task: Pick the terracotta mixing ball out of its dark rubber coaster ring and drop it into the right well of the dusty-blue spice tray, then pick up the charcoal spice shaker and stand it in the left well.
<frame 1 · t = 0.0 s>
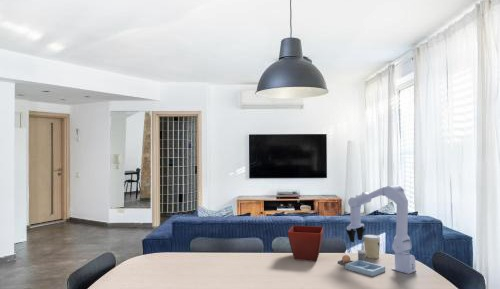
hand: (356, 240, 205), 10 cm above the table, tool pointing down, fingers open, 7 cm apart
shaker: (361, 262, 196), on the table
coffee cup: (372, 256, 207), on the table
ball: (346, 259, 195), point 2 cm above the table
plant pot: (306, 258, 206), on the table
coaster: (346, 263, 195), on the table
tray: (365, 270, 183), on the table
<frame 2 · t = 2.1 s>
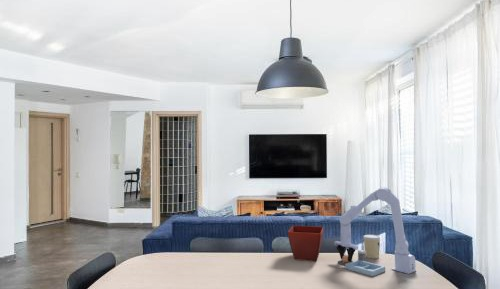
hand: (346, 260, 195), 2 cm above the table, tool pointing down, fingers closed on ball, 4 cm apart
ball: (346, 259, 195), point 2 cm above the table, touching gripper
everything else where it was.
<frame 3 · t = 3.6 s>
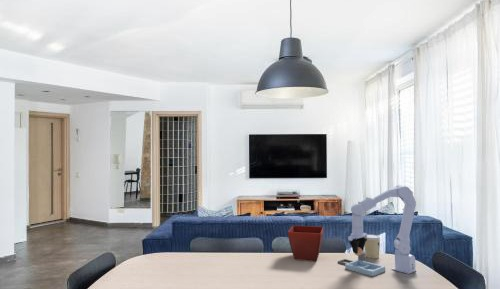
hand: (358, 252, 186), 8 cm above the table, tool pointing down, fingers closed on ball, 4 cm apart
ball: (358, 251, 186), point 9 cm above the table, touching gripper
everything else where it was.
when the fingers open (2 cm above the table, at t = 5.1 s): ball stays where it is, resting on tray.
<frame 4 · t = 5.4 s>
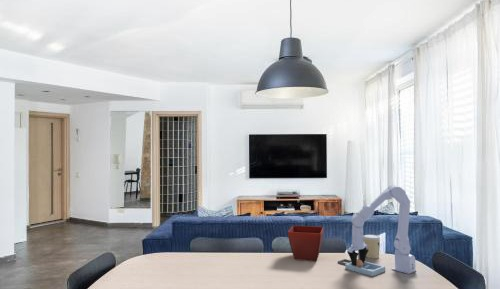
hand: (358, 263, 186), 2 cm above the table, tool pointing down, fingers open, 7 cm apart
ball: (358, 263, 186), point 2 cm above the table, touching tray
everything else where it was.
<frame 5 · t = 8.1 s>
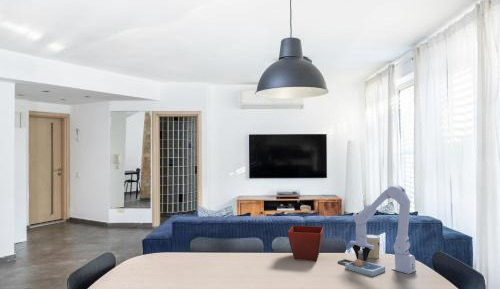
hand: (361, 259, 196), 2 cm above the table, tool pointing down, fingers closed on shaker, 4 cm apart
shaker: (361, 262, 196), on the table, touching gripper
everything else where it was.
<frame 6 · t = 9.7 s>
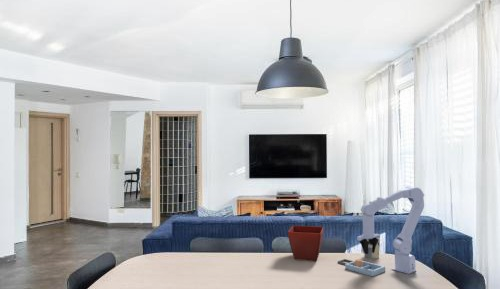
hand: (369, 252, 183), 9 cm above the table, tool pointing down, fingers closed on shaker, 4 cm apart
shaker: (368, 257, 184), point 7 cm above the table, touching gripper
everything else where it was.
when the fingers open (3 cm above the table, at t = 11.4 s): shaker stays where it is, resting on tray.
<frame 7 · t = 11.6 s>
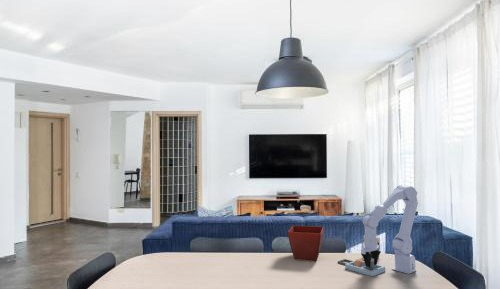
hand: (371, 265, 180), 3 cm above the table, tool pointing down, fingers open, 5 cm apart
shaker: (370, 271, 180), resting on tray
everything else where it was.
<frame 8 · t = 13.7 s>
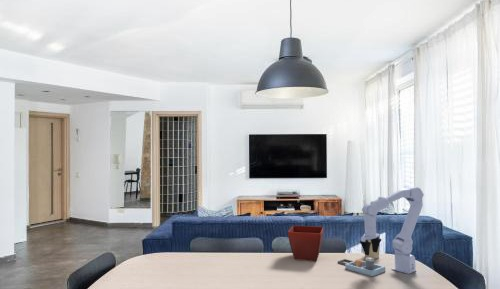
hand: (370, 253, 180), 9 cm above the table, tool pointing down, fingers open, 7 cm apart
nothing on the table moved.
at the end: ball inside the target area on the tray (0.3 cm from its centre), point 2.4 cm above the tray's base; shaker inside the target area on the tray (0.8 cm from its centre), point 0.2 cm above the tray's base; shaker tilted 0° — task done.
